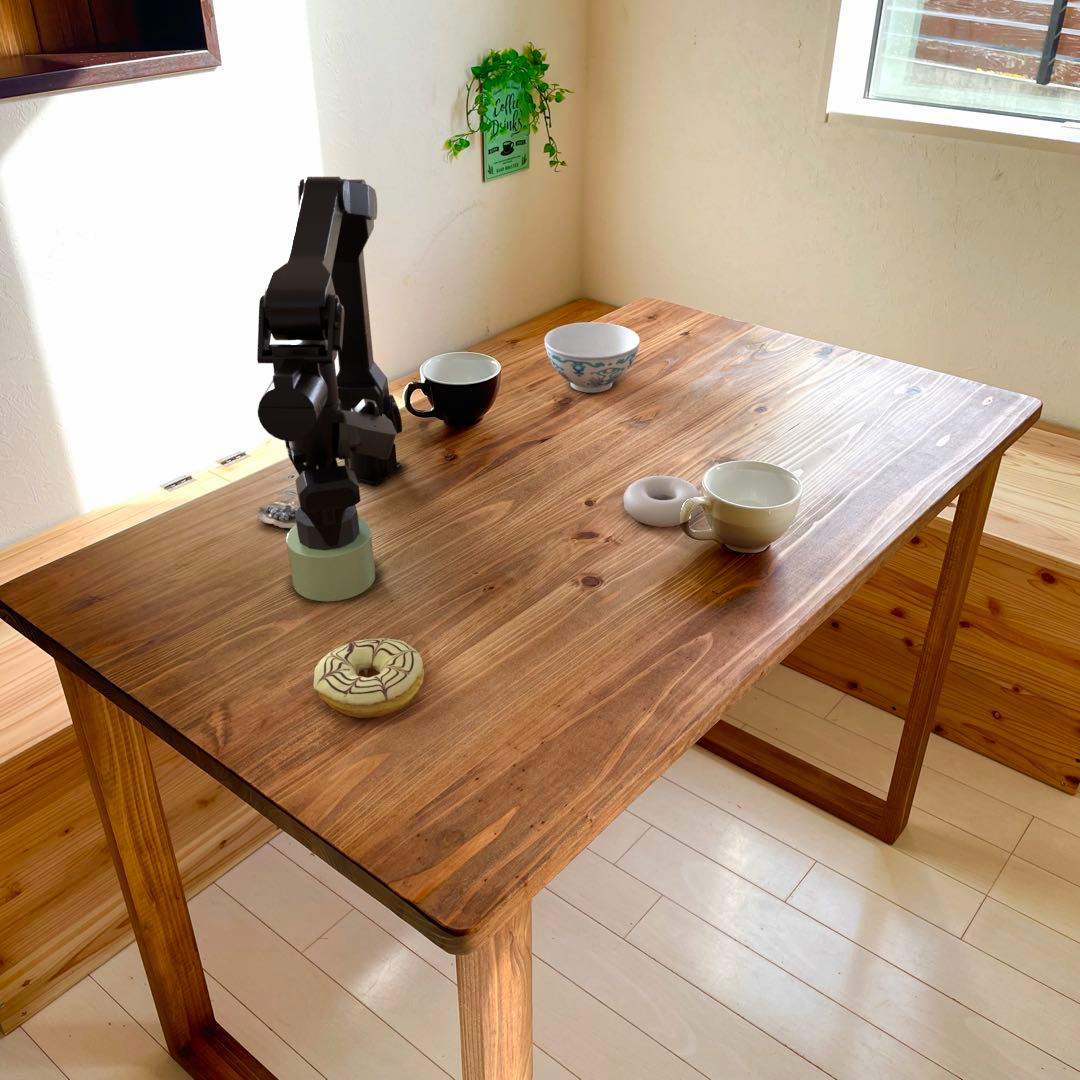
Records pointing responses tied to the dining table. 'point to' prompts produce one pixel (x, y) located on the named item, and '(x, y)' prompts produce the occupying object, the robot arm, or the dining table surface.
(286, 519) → the blueberry tart
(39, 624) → the dining table surface
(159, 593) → the dining table surface
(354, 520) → the rubber ring
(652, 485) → the donut
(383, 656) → the decorated donut
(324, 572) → the green cylinder with peg
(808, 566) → the dining table surface
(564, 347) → the chinaware
